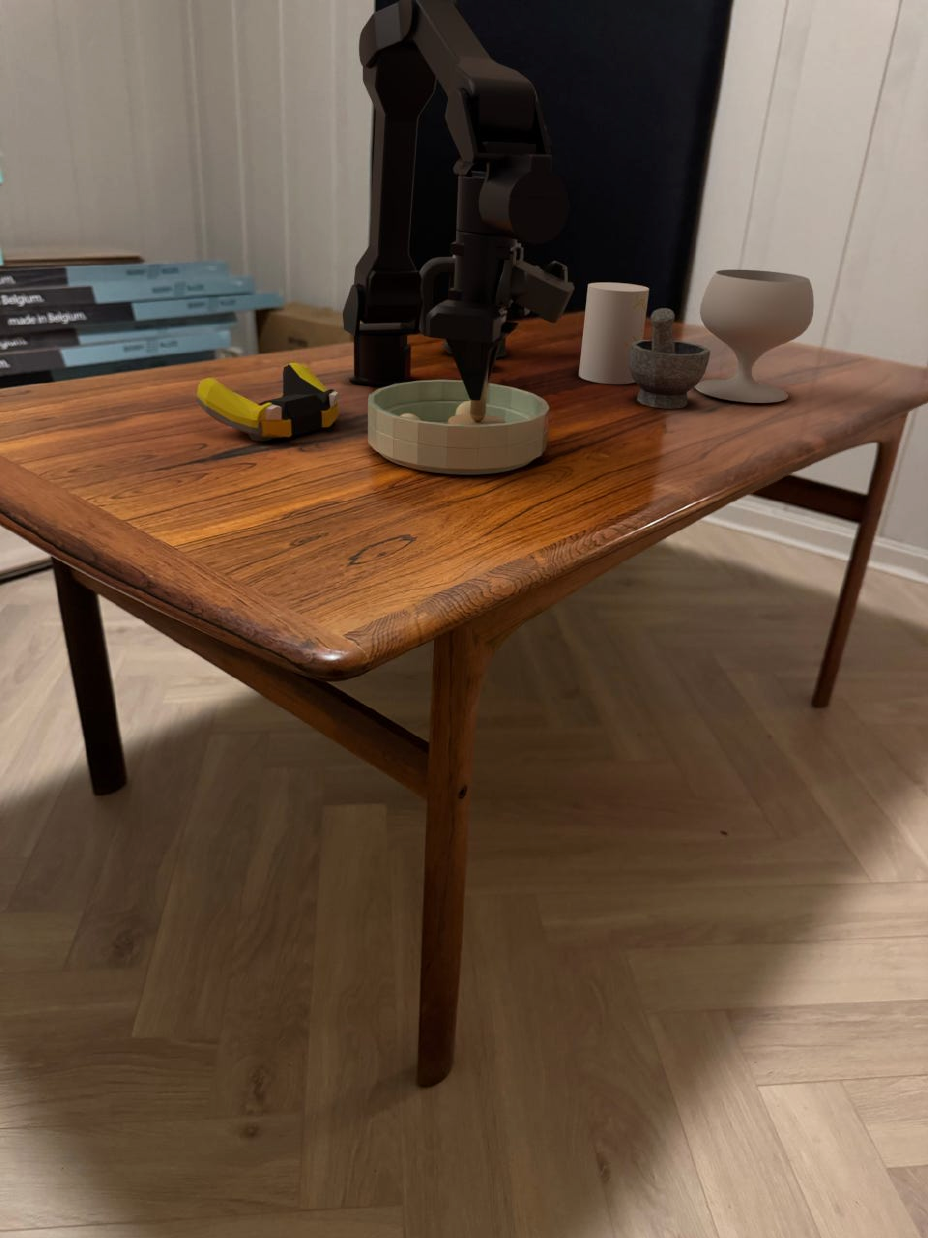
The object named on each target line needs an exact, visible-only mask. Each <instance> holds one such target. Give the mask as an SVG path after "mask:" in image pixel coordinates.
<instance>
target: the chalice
mask: <svg viewBox="0 0 928 1238" xmlns="http://www.w3.org/2000/svg"><path fill="white" fill-rule="evenodd" d="M814 299H815V298H814V291H813V287H812V282H811V280H810V278H808V277H806V276H802V275H798V274H794V273H793V274H792V273H786V272H778V271H770V270H759V269H758V270H757V269H755V270H754V269H721V270H717V271H715V273H713V275H712V276H711V278H710V279H709V282H708V284H707V286H706V288H705V290H704V293H703V296H702V299H701V301H700V302H701V303H700V307H699V315H700V316H699V317H700V320H701V322H702V324H703V326H704V327H705V329H706V330H707V331H708V332H710V333H711V334H712V335H714V336H715V337H716V338H718V339H719V340H720V341H722V342H723V343H724V344H725V345H726V346H727V347H729V348H730V349H731V350H732V352H733V353H734V354H735V357H736V359H737V364H738V365H737V366H738V367H737V370H736V373H735V374H734V375H733V376H732V377H730V378H712V379H706V380H700V381H699V382H698V384H697V385H695V386H694V388H695V390H697V391H698V392H699V393H702V394H703V395H706V396H709V397H713V398H716V399H720V400H725V401H730V402H736V403H737V402H739V403H748V404H769V403H778V402H782V401H785V400H787V399H788V397H789V395H788V394H787V392H786V391H785V390H783V389H782V388H780V387H777V386H774V385H771V384H767V383H764V382H760V381H756V380H755V378H754V377H753V367H754V365H755V363H756V361H758V359H759V358H760V357H761V356H763V355H765V354H766V353H767V352H769V351H771V350H774V349H775V348H777V347H780V346H782V345H784V344H787V343H789V342H791V341H794V340H796V339H797V338H799V337H800V336H802V335H803V334H804V333H805V332H806V331H807V330H808V328H809V327H810V325H811V323H812V320H813V316H814V308H815V307H814V306H815V304H814V303H815V301H814Z"/></svg>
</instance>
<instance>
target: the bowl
mask: <svg viewBox="0 0 928 1238" xmlns="http://www.w3.org/2000/svg"><path fill="white" fill-rule="evenodd" d="M466 401H471V400H470V398H469V396H468V393H467V391H466V388H465V386H464V383H463V380H462V379H460V380H459V379H458V380H455V379H431V380H429V379H427V380H414V381H407V382H406V381H405V382H403V383H398V384H393V385H390V386H382V387H380V388H377V389H376V390H374V391H373V392H371V393H369V394H368V398H367V444H368V445H369V446H370V447H372V449H373V450H374V451H375V452H377V453H379V454H380V455H381V457H383V458H384V459H386V460H388V461H389V462H391V463H394V464H396V465H399V466H401V467H405V468H408V469H413V470H417V471H423V472H429V473H434V474H443V475H444V474H445V475H460V476H463V475H465V476H468V475H469V476H470V475H472V476H473V475H490V474H499V473H504V472H509V471H514V470H517V469H520V468H523V467H525V466H527V465H529V464H531V463H533V461H534V460H535V459H537V458H539V457H542V455H543V453H544V452H545V450H546V448H547V441H548V428H549V419H550V406H549V404H548V403H547V401H546V399H544V398H542V397H540V396H538V395H537V394H535V393H533V392H530V391H527V390H523V389H521V388H517V387H513V386H508V385H502V384H498V383H493V382H492V383H491V382H489V385H488V388H487V400H486V415H492V416H496V417H499V418H501V419H503V420H505V421H506V423H501V424H485V425H466V424H448V419H449V418H450V417H452V416H455V415H456V410H457V408H458V407H459V405H460V404H462V403H463V402H466ZM407 413H409V414H413V415H416V416H417V417H418V418H419V419H420V420H421V421H420V420H416V419H411V418H407V417H402V416H401V415H403V414H407Z"/></svg>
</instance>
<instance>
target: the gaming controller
mask: <svg viewBox="0 0 928 1238" xmlns="http://www.w3.org/2000/svg"><path fill="white" fill-rule="evenodd" d="M339 397H340V393H339V392H337V390H335V389H333V388H329V389H327V388H326V387H325V385H323V383H322V382H321V381H320V380H319V379H318V377H317V376H316V375H315V374H314V372H313V371H312V370H311V368H309V367H308V366H306V365H304V364H302V363H300V362H295V361H293V362H290V363H288V364H286V365H285V366H283V371H282V396H281V397H277V398H271V399H268V400H264V401H262V402H259V403H256V402H254V401H252V400H250V399H248V398H246V397H244V396H242V395H241V394H239V393H237V392H234V391H232V390H231V389H230V388H229V387H227V386H225V385H224V384H223V383H221V382H220V381H218V380H216V379H214V378H212V377H207V378H204V379H203V380H201V381H199V384H198V386H197V393H196V402H197V404H198V405H199V406H200V407H201V408H202V410H203V411H204V412H205V413H206V414H207V415H209V417H212V418H213V419H214V420H215V421H217V422H219V423H221V424H223V425H225V426H228V427H230V428H232V429H235V430H237V431H239V432H242V433H245V434H247V435H248V437H249V438H250V440H252V441H256V442H269V441H271V440H273V439H282V438H290V437H294V436H298V435H301V434H306V433H310V432H313V431H317V430H322V429H323V428H330V427H331V426H332V425H333V424H334V422H335V421H336V420H337V418H338V417H339V403H338V399H339Z"/></svg>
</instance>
